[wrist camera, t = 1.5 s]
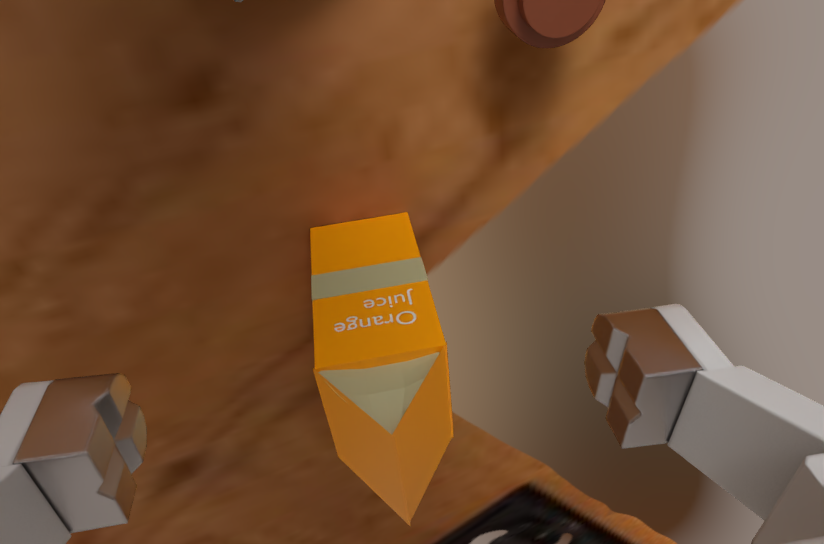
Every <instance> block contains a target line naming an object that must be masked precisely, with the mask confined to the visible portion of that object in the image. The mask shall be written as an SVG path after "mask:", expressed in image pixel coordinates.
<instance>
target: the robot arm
mask: <svg viewBox="0 0 824 544" xmlns="http://www.w3.org/2000/svg"><path fill="white" fill-rule="evenodd" d="M591 332H592V334H593V335H594V337H595V339H596V341H595V342H593V343H592V344H591V345H590V346H589V348H587V351H586V357H585V373H586V379H587V381H588V385H589V388H590V390H591V392H592V394H593V396H594V398H595V399H596V400H598V401H599V402H601V403H602V404H604V405H605V406H607V407H608V411H607V415H606V420H607V422H608V424H609V426H610V428H611V429H612V431H613V433H614V435H615V437H616V439H617V440H618V442H619V444H620V446H621V448H631V447H639V446H647V445H655V444H663V443H668V446H669V447H670V448H672V449H673V450H674V451H675V452H677V453H678V454H679V455H681V456H682V457H683V458H685V459H686V460H687V461H688V462H690V463H691V464H692V465H694V466H695V467H696V468H697V469H699V470H700V471H701V472H703V473H704V474H705V475H707V476H708V477H709V478H710V479H712V480H713V481H714V482H715V483H717V484H718V485H719V486H721V487H722V488H723V489H724V490H726V491H727V492H728V493H730V494H731V495H732V496H734V497H735V498H736V499H738V500H739V501H740V502H741V503H743V504H744V505H745V506H746V507H748V508H749V509H750V510H752V511H753V512H754V513H756V514H757V515H758V516H759V517H761V518H762V519H763V520H764V523H763V524H762V526H761V528H760V529H759V530H758V532H757V534H756V535H755V537H754V538H753V540H752V543H751V544H824V406H823V405H821V404H819V403H817V402H815V401H813V400H811V399H809V398H807V397H805V396H803V395H801V394H799V393H797V392H795V391H793V390H791V389H789V388H787V387H785V386H783V385H781V384H779V383H777V382H775V381H773V380H771V379H769V378H767V377H764V376H763V375H761V374H759V373H757V372H754V371H753V370H751V369H749V368H747V367H745V366H743V365H742V366H734V365H733V364H732V363H731V362H730V360H729V359H728V358H727V357H726V356H725V355H724V353H723V352H722V351H721V350H720V349H719V347H718V346H717V345H716V344H715V343H714V342H713V340H712V339H711V338H710V337H709V336H708V334H707V333H706V332H705V331H704V330H703V329H702V327H701V326H700V325H699V324H698V323H697V321H696V320H695V319H694V318H693V317H692V315H691V314H690V313H689V312H688V311H687V310H686V309H685V308H684V307H683V306H681V305H679V304H672V305H665V306H657V307H651V308H644V309H637V310H629V311H621V312H613V313H605V314H598V315H597V317H596V318H595V319H594V321H593V325H592V329H591ZM131 389H132V388H131V386H130V384H129V382H128V380H127V378H126V376H125V375H124V374H120V373H115V374H105V375H95V376H85V377H74V378H64V379H55V380H52V381H41V382H30V383H22V384H21V385H19V386H18V387H17V388H15V389H14V390H13V392H12V394H11V396H10V398H9V400H8V401H7V403H6V405H5V407H4V409H3V411H2V413H1V415H0V544H66V542H67V541H68V540H69V539H70V537H71V534H70V533H74V532H80V531H85V530H91V529H97V528H102V527H108V526H114V525H119V524H125V523H128V519H129V515H130V511H131V508H132V504H133V500H134V496H135V492H136V488H137V484H136V483H135V481H134V479H133V477H132V475H131V474H132V473H133V472H134V471H135V470H136V469H137V468H138V467H139V466H140V464H141V463H142V462H143V460H144V456H145V451H146V447H147V427H146V423H145V418H144V415H143V412H142V410H141V408H140V406H138V405H136V404H135V403H133V402H131V401H129V400H128V399H129V396H130V393H131Z"/></svg>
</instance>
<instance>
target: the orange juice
mask: <svg viewBox="0 0 824 544" xmlns="http://www.w3.org/2000/svg"><path fill="white" fill-rule="evenodd" d="M310 239H311V268H312V276H311V288H312V302H313V328H314V357H315V369H314V368H313V372H314V375H315V379H316V382H317V385H318V389H319V392H320V396H321V399H322V403H323V406H324V409H325V413H326V416H327V420H328V423H329V427H330V430H331V434H332V437H333V440H334V444H335V447H336V451H337V454H338V457H339V458H340V459H341V460H342V461H343V462H344V463H345V464H346V465H347V466H348V467H349V468H350V469H351V470H352V471H353V472H354V473H355V474H356V475H357V476H359V477H360V478H361V479H362V480H363V481H364V482H365V483H366V484H367V485H368V486H369V487H370V488H371V489H372V490H373V491H374V492H375V493H376V494H377V495H378V496H379V497H380V498H381V499H382V500H383V501H384V502H385V503H387V504H388V505H389V506H390V507H391V508H392V509H393V510H394V511H395V512H396V513H397V514H398V515H399V516H400V517H401V518H402V519H403V520H404V521H405V522H406V523H407V524H408V525H409V526H410V527H411V525H410V521H411V519H412V517H413V515H414V513H415V511H416V509H417V507H418V505H419V503H420V501H421V499H422V497H423V495H424V493H425V491H426V489H427V487H428V485H429V483H430V481H431V478H432V476H433V474H434V472H435V470H436V468H437V466H438V464H439V462H440V460H441V458H442V456H443V454H444V452H445V450H446V448H447V446H448V444H449V442H450V440H451V438H454V437H453V434H454V430H453V417H452V405H451V392H450V380H449V367H448V353H447V343H446V342H445V339H444V336H443V332H442V329H441V326H440V322H439V318H438V315H437V312H436V309H435V305H434V301H433V298H432V294H431V291H430V288H429V284H428V278H427V275H426V272H425V268H424V265H423V261H422V258H421V257H420V253H419V250H418V246H417V243H416V240H415V236H414V233H413V229H412V226H411V222H410V219H409V216H408V212H405V213H399V214H393V215H387V216H381V217H375V218H369V219H363V220H357V221H351V222H345V223H338V224H332V225H326V226H320V227H314V228H310Z"/></svg>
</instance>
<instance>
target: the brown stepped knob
mask: <svg viewBox="0 0 824 544" xmlns="http://www.w3.org/2000/svg"><path fill="white" fill-rule="evenodd" d="M494 3H495V7H496V10H497V13H498V15H499V17H500V19H501V20H502V22H503V23H504V24H505V26H506V27H507V28H508V29H509V30H510V31H511V32H513V33H514V34H515V35H516V36H517V37H518V38H519V39H520V40H522V41H523V42H525V43H526V44H529V45H531V46H534V47H538V48H554V47H558V46H562V45H565V44H567V43H569V42H571V41H573V40H575V39H576V38H578V37H579V36H580V35H582V34H583V33H584V32H585V31H586V30H587V29H588V28H589V27H590V26H591V25H592V24H593V22H594V21H595V20H596V18H597V17H598V15H599V13H600V12H601V10H602V8H603V5H604V3H605V0H494Z"/></svg>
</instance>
